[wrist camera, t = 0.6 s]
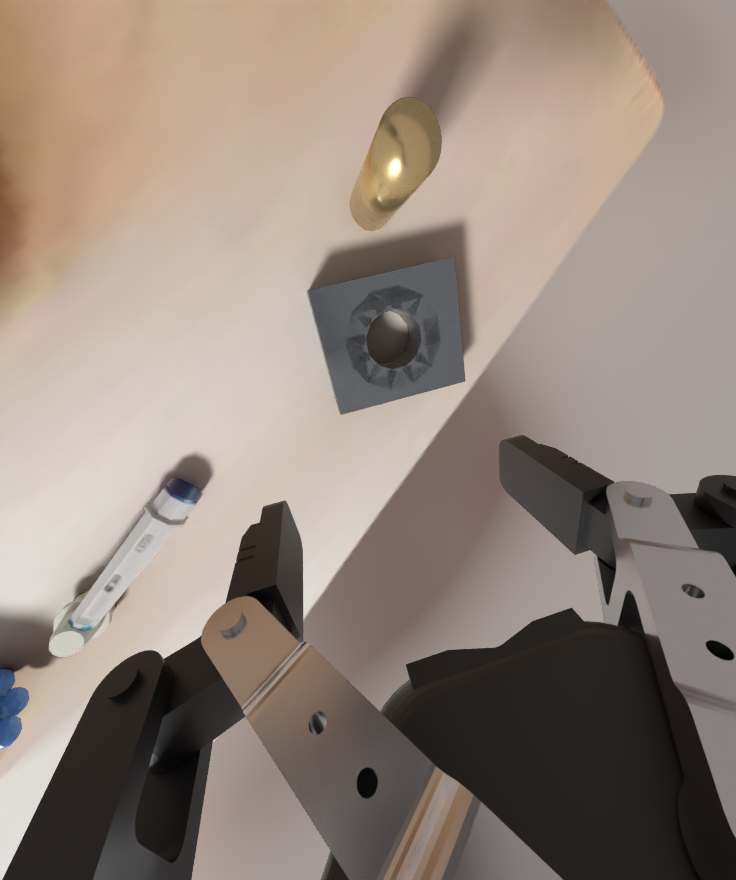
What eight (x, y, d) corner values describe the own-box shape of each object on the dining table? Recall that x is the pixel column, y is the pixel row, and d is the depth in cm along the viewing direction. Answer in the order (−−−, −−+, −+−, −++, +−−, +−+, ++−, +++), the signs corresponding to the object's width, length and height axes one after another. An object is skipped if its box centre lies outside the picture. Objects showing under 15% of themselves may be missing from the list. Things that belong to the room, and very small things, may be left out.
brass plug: (345, 184, 28) (371, 103, 17) (387, 175, 29) (437, 91, 18) (355, 234, 30) (384, 189, 19) (394, 226, 30) (444, 177, 19)
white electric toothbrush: (202, 509, 34) (70, 680, 35) (214, 484, 40) (101, 630, 41) (155, 484, 32) (16, 667, 33) (174, 463, 38) (57, 617, 39)
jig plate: (307, 293, 31) (307, 290, 27) (437, 262, 32) (454, 256, 29) (337, 404, 36) (340, 414, 32) (449, 374, 37) (465, 381, 34)
